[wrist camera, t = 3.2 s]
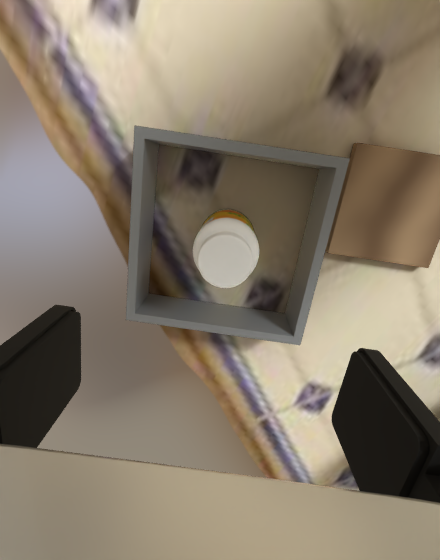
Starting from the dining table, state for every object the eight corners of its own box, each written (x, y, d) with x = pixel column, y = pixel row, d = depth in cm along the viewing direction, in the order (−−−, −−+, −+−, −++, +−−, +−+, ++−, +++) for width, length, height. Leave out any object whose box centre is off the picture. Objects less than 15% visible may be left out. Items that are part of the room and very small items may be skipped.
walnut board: (462, 160, 28) (470, 159, 27) (422, 265, 31) (428, 267, 30) (353, 143, 28) (357, 142, 27) (325, 250, 31) (328, 253, 30)
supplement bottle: (265, 232, 31) (279, 257, 21) (230, 271, 32) (230, 311, 23) (223, 197, 30) (219, 207, 20) (189, 239, 31) (172, 267, 22)
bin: (330, 160, 28) (349, 158, 23) (290, 321, 34) (300, 345, 29) (150, 133, 28) (134, 125, 23) (140, 299, 33) (125, 319, 29)
